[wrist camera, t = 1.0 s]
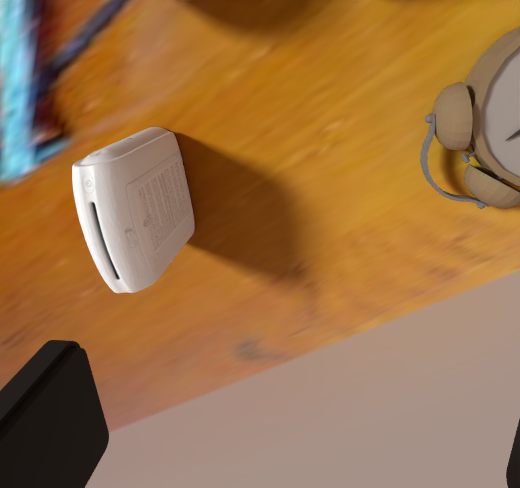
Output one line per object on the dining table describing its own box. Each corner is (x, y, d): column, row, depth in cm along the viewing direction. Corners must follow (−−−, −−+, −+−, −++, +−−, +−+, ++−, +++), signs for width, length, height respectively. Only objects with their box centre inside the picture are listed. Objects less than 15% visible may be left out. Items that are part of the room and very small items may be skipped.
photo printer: (130, 128, 38) (43, 165, 27) (177, 121, 37) (107, 158, 26) (158, 237, 42) (94, 309, 31) (201, 234, 41) (150, 306, 30)
